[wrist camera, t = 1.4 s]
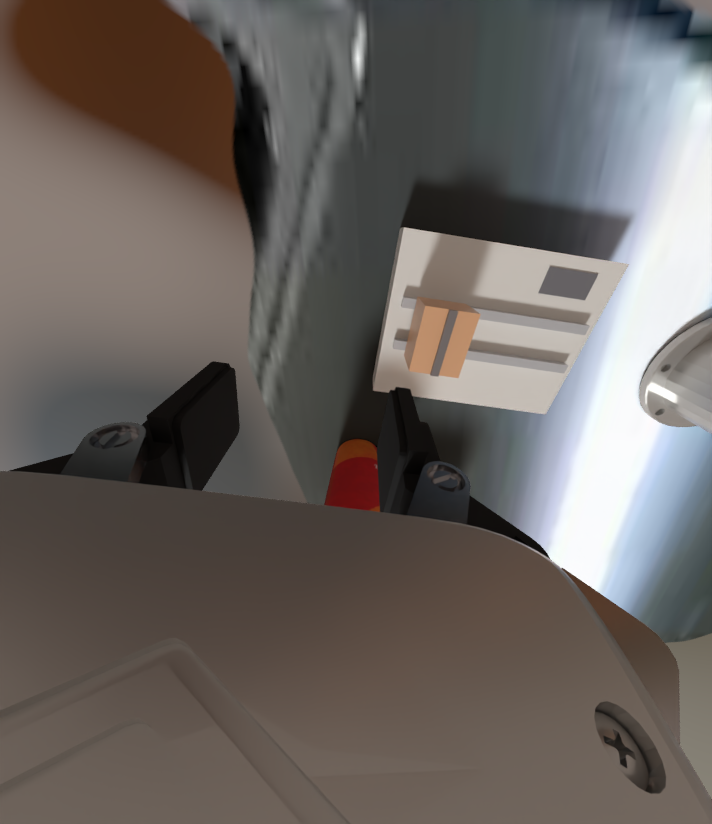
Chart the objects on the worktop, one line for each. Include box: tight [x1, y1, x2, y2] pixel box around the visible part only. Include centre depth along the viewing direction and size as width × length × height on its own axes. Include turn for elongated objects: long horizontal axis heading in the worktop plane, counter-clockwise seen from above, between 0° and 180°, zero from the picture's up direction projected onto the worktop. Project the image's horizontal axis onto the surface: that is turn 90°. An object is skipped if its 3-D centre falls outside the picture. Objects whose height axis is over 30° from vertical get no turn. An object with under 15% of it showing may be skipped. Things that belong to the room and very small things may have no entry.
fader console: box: [373, 227, 629, 414], centre depth 27 cm, size 18×14×4 cm
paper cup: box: [324, 439, 380, 512], centre depth 32 cm, size 8×8×14 cm
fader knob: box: [404, 297, 481, 378], centre depth 24 cm, size 4×5×5 cm
